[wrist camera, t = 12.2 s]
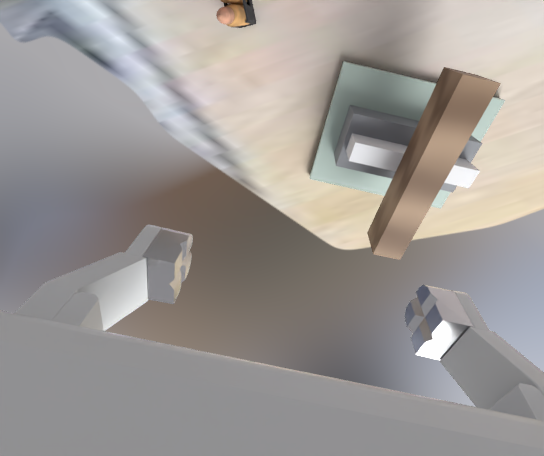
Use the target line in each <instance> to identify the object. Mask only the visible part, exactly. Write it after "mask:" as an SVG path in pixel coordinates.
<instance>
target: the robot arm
mask: <svg viewBox="0 0 544 456" xmlns="http://www.w3.org/2000/svg"><path fill="white" fill-rule="evenodd" d="M192 238H193V237H192V235H191V234H187V233H183V232H179V231H175V230H171V229H167V228H162V227H157V226H153V225H147V226H145V228H144V229H143V230H142V231H141V233H140V234H139V235H138V237H137V238H136V239H135V240H134V242H133V243H132V244H131V245H130V247H129V248H128V249H127V251H126V252H125V253H121V252H120V253H117V254H115V255H112V256H110V257H107V258H105V259H102V260H100V261H97V262H95V263H93V264H90V265H87V266H85V267H82V268H80V269H77V270H75V271H72V272H70V273H68V274H65V275H63V276H60V277H58V278H55V279H53V280H50V281H48V282H46V283H44V284H43V285H42V286H41V287H40V288H39V289H38V290H37V291H36V292H35V293H34V294H33V295H32V296H31V297H30V298H29V299H28V300H27V301H26V302H25V303H24V304H23V305H22V306H21V307H20V308H19V309H18V310H17V311H16V312H15V313H12V312H7V311H2V310H0V456H544V372H542V371H541V370H540V369H539V368H538V367H536V366H535V365H534V364H533V363H532V362H530V361H529V360H528V359H527V358H525V357H524V356H523V355H522V354H521V353H519V352H518V351H517V350H516V349H514V348H513V347H512V346H511V345H510V344H508V343H507V342H506V341H505V340H504V339H502V338H501V337H500V336H499V335H497V334H496V333H495V332H493V331H490V330H489V329H488V327H487V325H486V323H485V322H484V320H483V318H482V317H481V315H480V313H479V311H478V310H477V308H476V306H475V305H474V303H473V301H472V299H471V298H470V296H469V295H468V294H466V293H463V292H458V291H453V290H451V291H450V290H446V289H441V288H436V287H432V286H427V285H422V286H421V287H419V288H418V290H417V291H416V295H417V298H415V299H413V300H411V301H410V302H409V304H408V305H407V307H406V311H405V322H406V325H407V327H408V328H409V330H410V331H411V332H412V333H413V334H412V336H411V341H412V344H413V347H414V350H415V353H416V355H420V356H425V357H429V358H433V359H437V360H440V362H441V363H442V365H443V366H444V367H445V369H446V370H447V371H448V372H449V374H450V375H451V376H452V377H453V379H454V380H455V381H456V382H457V384H458V385H459V386H460V387H461V388H462V390H463V391H464V392H465V393H466V395H467V396H468V397H469V398H470V400H471V401H472V402H473V403H474V405H475V406H476V407H473V406H467V405H463V404H458V403H453V402H448V401H443V400H439V399H434V398H429V397H424V396H419V395H414V394H409V393H404V392H399V391H395V390H389V389H385V388H380V387H375V386H370V385H365V384H360V383H355V382H351V381H345V380H341V379H336V378H331V377H326V376H321V375H316V374H311V373H306V372H301V371H297V370H291V369H287V368H282V367H277V366H272V365H267V364H262V363H257V362H253V361H248V360H243V359H238V358H233V357H228V356H223V355H218V354H213V353H208V352H203V351H199V350H194V349H189V348H184V347H179V346H174V345H169V344H164V343H159V342H154V341H150V340H144V339H140V338H135V337H130V336H125V335H120V334H115V333H110V332H105V330H106V329H108V328H109V327H111V326H112V325H114V324H115V323H117V322H118V321H119V320H121V319H122V318H124V317H125V316H127V315H128V314H130V313H131V312H132V311H134V310H135V309H137V308H138V307H140V306H141V305H142V304H144V303H145V302H147V301H148V299H149V300H154V301H160V302H165V303H171V304H174V302H175V300H176V298H177V296H178V294H179V292H180V289H181V282H182V281H184V280H185V279H186V276H187V274H188V271H189V268H190V263H191V256H192V254H191V252H190V251H189V250H190V247H191V246H192Z"/></svg>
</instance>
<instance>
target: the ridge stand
mask: <svg viewBox="0 0 544 456" xmlns="http://www.w3.org/2000/svg"><path fill="white" fill-rule="evenodd" d="M436 84H437V83H434V82H430V81H426V80H422V79H417V78H413V77H409V76H405V75H401V74H396V73H392V72H388V71H384V70H380V69H375V68H371V67H367V66H363V65H359V64H354V63H350V62H346V61H343V63H342V67H341V70H340V74H339V77H338V80H337V84H336V87H335V91H334V94H333V98H332V101H331V104H330V108H329V111H328V115H327V118H326V121H325V125H324V128H323V132H322V135H321V139H320V142H319V145H318V149H317V152H316V156H315V159H314V163H313V166H312V169H311V173H310V179H312V180H317V181H321V182H326V183H330V184H334V185H339V186H343V187H348V188H352V189H357V190H361V191H365V192H370V193H374V194H379V195H383V196H385V194H386V192H387V190H388V187H389V185H390V183H391V181H392V179H393V177H394V174H395V172H396V170H397V168H398V166H399V164H400V161H401V159H402V157H403V155H404V153H405V151H406V148H407V146H408V144H409V142H410V140H411V138H412V136H413V133H414V131H415V129H416V127H417V125H418V123H419V120H420V118H421V116H422V114H423V112H424V110H425V107H426V105H427V103H428V101H429V99H430V97H431V94H432V92H433V90H434V88H435V86H436ZM504 101H505V100H503V99H500V98H497V97H493V98H492V100H491V101H490V103H489V105H488V107H487V108H486V110H485V112H484V114H483V115H482V117H481V119H480V121H479V122H478V124H477V126H476V128H475V129H474V131H473V133H472V135H471V136H470V138H469V140H468V142H467V143H466V145H465V147H464V149H463V150H462V152H461V154H460V156H459V157H458V159H457V161H456V163H455V164H454V166H453V168H452V170H451V171H450V173H449V175H448V177H447V178H446V180H445V182H444V184H443V185H442V187H441V189H440V191H439V192H438V194H437V196H436V198H435V199H434V201H433V203H432V205H431V206H432V207H436V208H441V207H442V206H443V204H444V202H445V201H446V199H447V197H448V196H449V194H450V192H453V191H454V190H455V188H456V186H461V187H465V188H469V187H470V186H471V184H472V183H473V181H474V179H475V178H476V176H477V175H478V173H479V170H478V169H477V168H476V167H475V166H474V165H473V164H471V161H472V160H473V158H474V156H475V155H476V153H477V151H478V150H479V148H480V146H481V145H482V143H481V140H482V138H483V137H484V135H485V133H486V132H487V130H488V128H489V127H490V125H491V123H492V122H493V120H494V118H495V117H496V115H497V113H498V112H499V110H500V108H501V106H502V105H503V103H504Z"/></svg>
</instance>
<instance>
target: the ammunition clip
mask: <svg viewBox="0 0 544 456" xmlns="http://www.w3.org/2000/svg"><path fill="white" fill-rule="evenodd" d="M221 1H222V2H224V6H225V7H222V8H220V9H219V10H218V11H217V19H218V20H219V21H220V22H221V23H223V24H226V25H228V26H230V27H237V28H242V27H246V26H250V25H253V24H256V18H255V14H254V9H253V4H252V0H221ZM227 3H229V4H227Z"/></svg>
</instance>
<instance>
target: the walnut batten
mask: <svg viewBox="0 0 544 456" xmlns="http://www.w3.org/2000/svg"><path fill="white" fill-rule="evenodd" d="M500 84H501V83H498V82H495V81H492V80H490V79H487V78H484V77H481V76H478V75H475V74H471V73H466V72H462V71H458V70H454V69H450V68H446V67H444V69H443V71H442V73H441V75H440V77H439V79H438V81H437V84H436V86H435V88H434V90H433V92H432V94H431V97H430V99H429V101H428V103H427V105H426V107H425V110H424V112H423V114H422V116H421V118H420V120H419V123H418V125H417V127H416V129H415V131H414V133H413V136H412V138H411V140H410V142H409V144H408V146H407V148H406V151H405V153H404V155H403V157H402V159H401V161H400V164H399V166H398V168H397V170H396V172H395V174H394V177H393V179H392V181H391V183H390V185H389V187H388V190H387V192H386V194H385V196H384V198H383V200H382V203H381V205H380V207H379V209H378V211H377V213H376V215H375V218H374V220H373V222H372V224H371V226H370V228H369V231H368V237H369V240H370V244H371V248H372V252H373V254H375V255H380V256H385V257H389V258H394V259H398V260H400V259H401V257H402V255H403V254H404V252H405V250H406V248H407V247H408V245H409V243H410V241H411V240H412V238H413V236H414V234H415V233H416V231H417V229H418V227H419V226H420V224H421V222H422V220H423V219H424V217H425V215H426V213H427V212H428V210H429V208H430V206H431V205H432V203H433V201H434V199H435V198H436V196H437V194H438V192H439V191H440V189H441V187H442V185H443V184H444V182H445V180H446V178H447V177H448V175H449V173H450V171H451V170H452V168H453V166H454V164H455V163H456V161H457V159H458V157H459V156H460V154H461V152H462V150H463V149H464V147H465V145H466V143H467V142H468V140H469V138H470V136H471V135H472V133H473V131H474V129H475V128H476V126H477V124H478V122H479V121H480V119H481V117H482V115H483V114H484V112H485V110H486V108H487V107H488V105H489V103H490V101H491V100H492V98H493V96H494V94H495V93H496V91H497V89H498V87H499V86H500Z"/></svg>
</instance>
